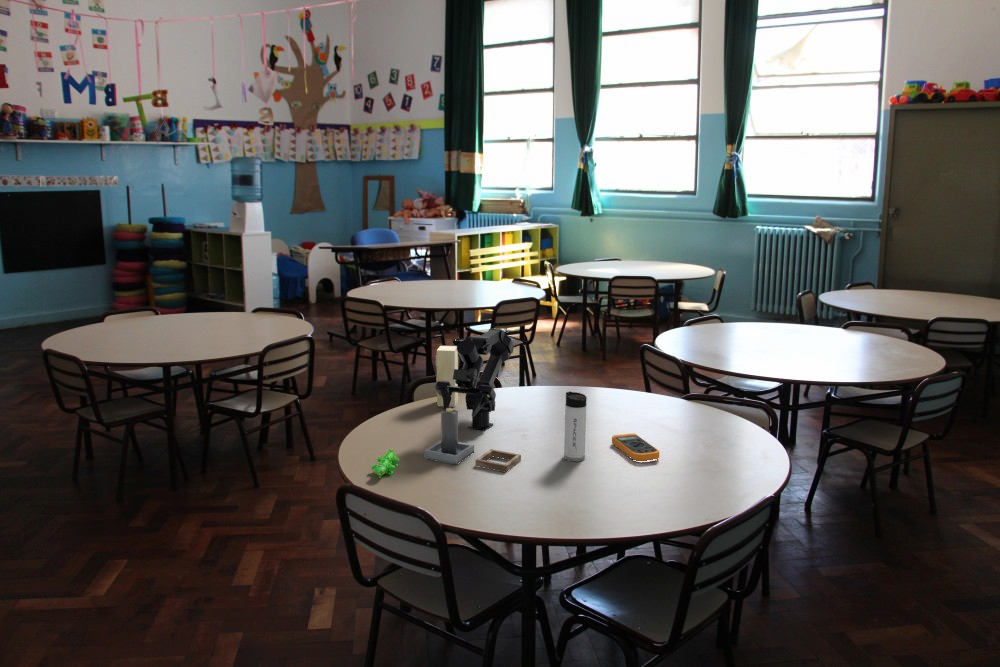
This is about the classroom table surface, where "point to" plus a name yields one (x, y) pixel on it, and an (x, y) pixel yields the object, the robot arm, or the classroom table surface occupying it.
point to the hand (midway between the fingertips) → (458, 414)
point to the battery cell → (449, 431)
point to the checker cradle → (498, 466)
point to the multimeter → (635, 447)
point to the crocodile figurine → (386, 463)
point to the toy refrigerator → (447, 370)
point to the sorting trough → (436, 454)
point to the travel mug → (575, 426)
